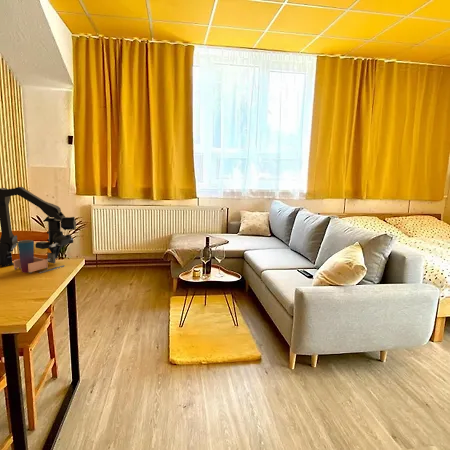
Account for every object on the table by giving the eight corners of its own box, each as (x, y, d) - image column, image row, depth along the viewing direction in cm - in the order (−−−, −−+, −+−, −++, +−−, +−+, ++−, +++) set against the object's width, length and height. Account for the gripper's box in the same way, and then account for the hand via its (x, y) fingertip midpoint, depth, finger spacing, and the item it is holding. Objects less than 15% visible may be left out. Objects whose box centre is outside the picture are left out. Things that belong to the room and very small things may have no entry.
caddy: (45, 262, 178) (44, 251, 177) (60, 265, 173) (60, 254, 172) (13, 269, 163) (13, 258, 162) (30, 273, 158) (29, 262, 157)
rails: (18, 268, 167) (18, 267, 167) (44, 261, 180) (44, 260, 180) (39, 273, 161) (39, 272, 160) (64, 266, 173) (64, 265, 173)
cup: (38, 269, 166) (36, 240, 164) (29, 273, 160) (27, 243, 157) (25, 268, 167) (24, 239, 165) (16, 272, 160) (14, 242, 158)
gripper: (48, 234, 163) (50, 264, 165) (80, 228, 179) (80, 256, 182) (33, 231, 167) (35, 261, 170) (65, 226, 184) (66, 253, 187)
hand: (55, 258), depth 177 cm, fingers closed
